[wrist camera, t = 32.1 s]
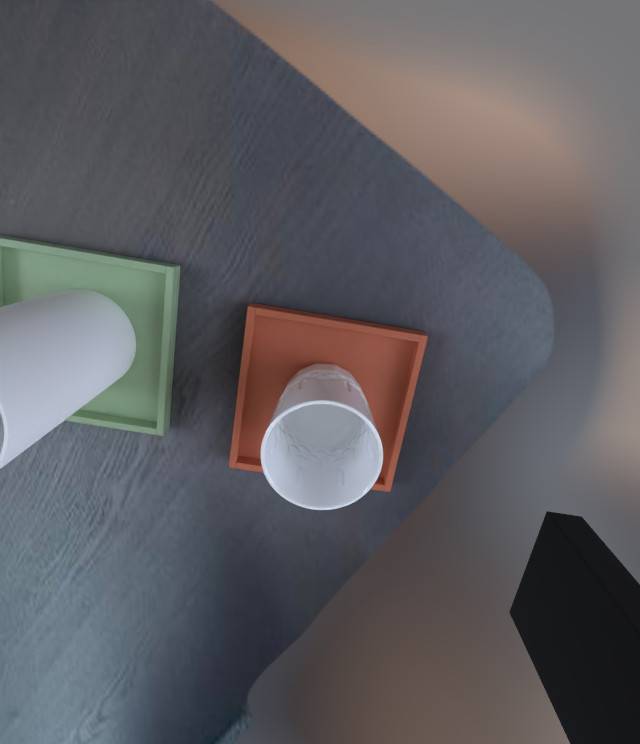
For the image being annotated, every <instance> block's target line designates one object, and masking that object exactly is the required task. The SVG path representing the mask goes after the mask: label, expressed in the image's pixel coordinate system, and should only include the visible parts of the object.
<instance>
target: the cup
mask: <svg viewBox="0 0 640 744" xmlns="http://www.w3.org/2000/svg"><path fill="white" fill-rule="evenodd" d="M135 354H136V337H135V332H134V329H133V326H132V324H131V322H130V320H129V318H128V317H127V315H126V314H125V312H124V311H123V310H122V309H121V308H120V307H119V306H118V305H117V304H116V303H115V302H114V301H112V300H111V299H110V298H108V297H106V296H105V295H103V294H101V293H98V292H95V291H92V290H88V289H80V288H77V289H67V290H63V291H60V292H56V293H52V294H48V295H45V296H41V297H37V298H33V299H30V300H26V301H22V302H18V303H14V304H11V305H7V306H3V307H0V469H1V468H2V467H3V466H5V465H6V464H7V463H9V462H10V461H11V460H13V459H14V458H15V457H17V456H18V455H19V454H21V453H22V452H23V451H24V450H26V449H27V448H28V447H30V446H31V445H32V444H34V443H35V442H36V441H38V440H39V439H40V438H42V437H43V436H44V435H46V434H47V433H48V432H50V431H51V430H52V429H54V428H55V427H56V426H58V425H59V424H60V423H61V422H63V421H64V420H65V419H67V418H68V417H69V416H71V415H72V414H73V413H75V412H76V411H77V410H79V409H80V408H81V407H83V406H84V405H85V404H87V403H88V402H89V401H91V400H92V399H93V398H95V397H96V396H97V395H98V394H100V393H101V392H102V391H104V390H105V389H106V388H108V387H109V386H110V385H112V384H113V383H114V382H116V381H117V380H118V379H120V378H121V377H122V376H123V375H124V374H125V373H126V372H127V371H128V370H129V368H130V367H131V365H132V363H133V360H134V358H135Z"/></svg>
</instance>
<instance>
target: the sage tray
mask: <svg viewBox="0 0 640 744" xmlns="http://www.w3.org/2000/svg"><path fill="white" fill-rule="evenodd" d="M180 267H181V266H180V265H176V264H170V263H164V262H158V261H153V260H147V259H141V258H135V257H129V256H123V255H117V254H111V253H105V252H99V251H93V250H87V249H81V248H76V247H70V246H64V245H58V244H52V243H46V242H40V241H34V240H28V239H22V238H16V237H10V236H4V235H0V307H3V306H7V305H11V304H14V303H18V302H22V301H26V300H30V299H33V298H37V297H41V296H45V295H48V294H52V293H56V292H60V291H63V290H67V289H77V288H80V289H88V290H92V291H95V292H98V293H101V294H103V295H105V296H106V297H108V298H110V299H111V300H112V301H114V302H115V303H116V304H117V305H118V306H119V307H120V308H121V309H122V310H123V311H124V312H125V314H126V315H127V317H128V318H129V320H130V322H131V324H132V326H133V329H134V332H135V337H136V354H135V358H134V360H133V363H132V365H131V367H130V368H129V370H128V371H127V372H126V373H125V374H124V375H123V376H122V377H121V378H120V379H118V380H117V381H116V382H114V383H113V384H112V385H110V386H109V387H108V388H106V389H105V390H104V391H102V392H101V393H100V394H98V395H97V396H96V397H95V398H93V399H92V400H91V401H89V402H88V403H87V404H85V405H84V406H83V407H81V408H80V409H79V410H77V411H76V412H75V413H73V414H72V415H71V416H69V417H68V418H67V419H65V420H64V421H70V422H77V423H83V424H90V425H96V426H102V427H109V428H115V429H122V430H128V431H135V432H141V433H147V434H154V435H160V436H163V435H164V434H165V432H166V431H167V430H168V429H169V425H170V410H171V396H172V382H173V367H174V353H175V339H176V324H177V310H178V296H179V281H180Z"/></svg>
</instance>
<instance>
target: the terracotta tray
mask: <svg viewBox="0 0 640 744" xmlns="http://www.w3.org/2000/svg"><path fill="white" fill-rule="evenodd" d="M427 339H428V336H427V335H426V333H425V332H424V331H419V330H413V329H407V328H401V327H395V326H389V325H383V324H377V323H371V322H365V321H359V320H353V319H347V318H341V317H335V316H329V315H323V314H317V313H311V312H305V311H299V310H293V309H287V308H281V307H275V306H269V305H263V304H257V303H250V305H249V306H248V308H247V316H246V325H245V333H244V342H243V350H242V359H241V367H240V376H239V385H238V393H237V402H236V410H235V419H234V427H233V436H232V444H231V453H230V461H229V467H231V468H238V469H244V470H250V471H257V472H263V469H262V465H261V456H260V453H261V444H262V440H263V437H264V435H265V433H266V430H267V428H268V425H269V423H270V420H271V418H272V415H273V413H274V410H275V408H276V405H277V403H278V401H279V399H280V397H281V395H282V393H283V392H284V390H285V388H286V385H287V383H288V382H289V381H290V380H291V378H292V377H293V376H294V375H295V374H296V373H297V372H298V371H299V370H300V369H303V368H305V367H308V366H310V365H313V364H315V363H322V364H335V365H337V366H339V367H341V368H343V369H345V370H347V371H348V372H350V373H351V374H352V375H353V377H354V378H355V379H356V381H357V382H358V384H359V385H360V386H361V389H362V392H363V394H364V396H365V398H366V400H367V403H368V406H369V408H370V410H371V413H372V416H373V419H374V422H375V425H376V428H377V431H378V434H379V437H380V439H381V443H382V448H383V463H382V468H381V471H380V474H379V476H378V478H377V480H376V482H375V483H374V485H373V486H372V488H371V489H374V490H380V491H387V492H390V490H391V486H392V482H393V478H394V474H395V469H396V465H397V461H398V457H399V453H400V449H401V445H402V441H403V437H404V433H405V429H406V424H407V420H408V416H409V412H410V408H411V404H412V400H413V396H414V392H415V388H416V384H417V379H418V375H419V371H420V367H421V363H422V359H423V355H424V351H425V347H426V343H427ZM263 473H264V472H263Z"/></svg>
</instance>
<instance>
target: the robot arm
mask: <svg viewBox="0 0 640 744" xmlns="http://www.w3.org/2000/svg"><path fill="white" fill-rule="evenodd" d="M510 614H511V617H512V619H513V621H514V623H515V625H516V627H517V630H518V632H519V634H520V636H521V638H522V640H523V642H524V645H525V647H526V649H527V651H528V653H529V655H530V658H531V660H532V662H533V664H534V666H535V668H536V670H537V673H538V675H539V677H540V679H541V681H542V684H543V686H544V688H545V690H546V692H547V694H548V696H549V699H550V701H551V703H552V705H553V707H554V710H555V712H556V714H557V716H558V718H559V720H560V722H561V725H562V727H563V729H564V731H565V733H566V735H567V737H568V740H569V742H570V744H640V585H639V583H638V582H637V581H636V580H635V579H634V578H633V576H632V575H631V574H630V573H629V572H628V570H627V569H626V568H625V567H624V566H623V564H622V563H621V562H620V561H619V560H618V559H617V557H616V556H615V555H614V554H613V553H612V552H611V550H610V549H609V548H608V547H607V546H606V545H605V543H604V542H603V541H602V540H601V539H600V538H599V536H598V535H597V534H596V533H595V532H594V531H593V529H592V528H591V527H590V526H589V525H588V524H587V522H586V521H585V520H584V519H583V518H582V517H579V516H573V515H567V514H560V513H554V512H547V513H546V515H545V518H544V521H543V523H542V526H541V529H540V531H539V534H538V537H537V539H536V542H535V545H534V548H533V550H532V553H531V556H530V558H529V561H528V564H527V566H526V569H525V572H524V574H523V577H522V580H521V583H520V585H519V588H518V591H517V593H516V596H515V599H514V601H513V604H512V607H511V610H510Z"/></svg>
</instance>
